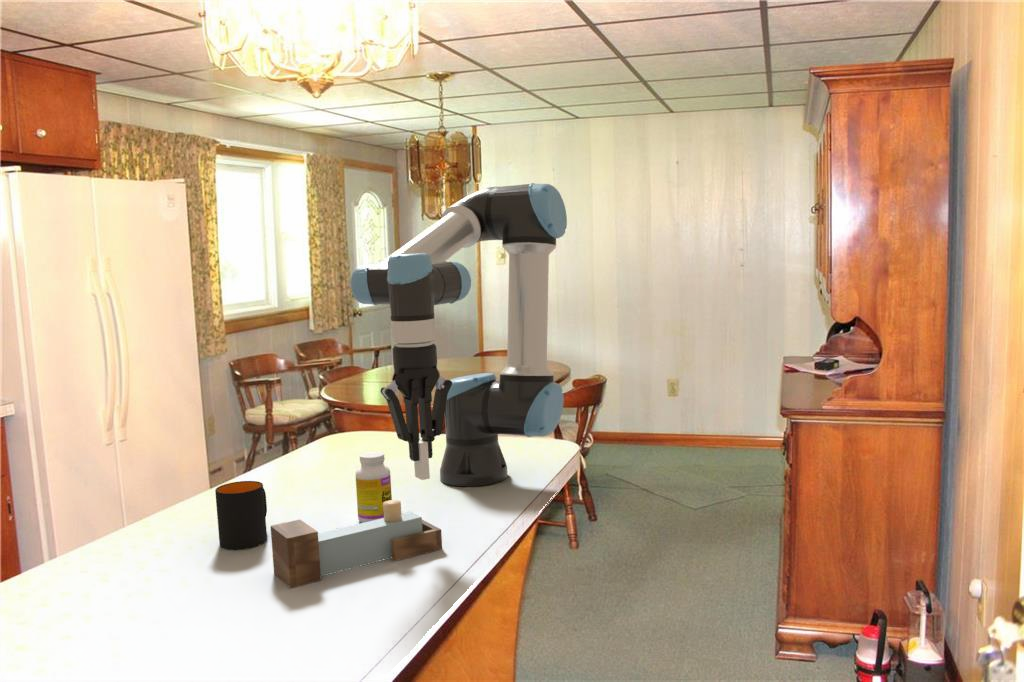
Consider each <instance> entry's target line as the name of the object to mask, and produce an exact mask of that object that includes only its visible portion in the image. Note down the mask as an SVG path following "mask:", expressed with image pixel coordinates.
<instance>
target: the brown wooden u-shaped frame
mask: <svg viewBox="0 0 1024 682" xmlns="http://www.w3.org/2000/svg"><path fill="white" fill-rule="evenodd" d="M442 535H443V534H442V529H441V528H439V527H437V526H435V525H434V524H432V523H429V522H427V521H426V520H424V519H422V532H420V533H416V534H411V535H407V536H403V537H399V538H395V539H391V543H392V558H391V559H392V560H393V561H394V562H398V561H402V560H404V559H410V558H412V557H416V556H420V555H425V554H428V553H433V552H436V551H440V550H443V538H442V537H443V536H442ZM401 559H402V560H401ZM397 560H398V561H397Z"/></svg>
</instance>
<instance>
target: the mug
mask: <svg viewBox="0 0 1024 682" xmlns="http://www.w3.org/2000/svg"><path fill="white" fill-rule="evenodd" d="M214 491H215V505H216V516H217V517H216V518H217V527H218V528H217V529H218V540H219V547H220V548H221V549H223V550H226V551H243V550H245V551H246V550H249V549H250V550H251V549H254V548H258V547H259V546H262V545H263V544H265V543H266V542H267V540H268V532H267V522H266V521H267V520H266V516H267V515H268V514H267V512H268V507H267V494H266V490H265V488H264V484H263V483H262V482H261V481H257V480H256V481H255V480H242V481H234V482H233V481H232V482H228V483H225V484H223V485H220V486H217V487H216V488H215V490H214Z"/></svg>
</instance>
